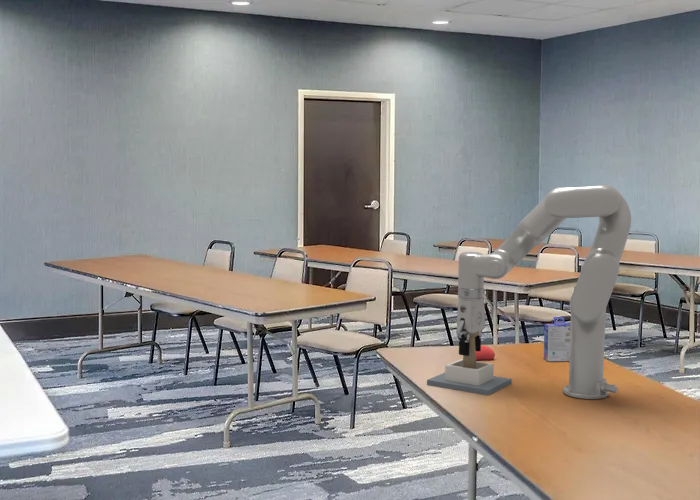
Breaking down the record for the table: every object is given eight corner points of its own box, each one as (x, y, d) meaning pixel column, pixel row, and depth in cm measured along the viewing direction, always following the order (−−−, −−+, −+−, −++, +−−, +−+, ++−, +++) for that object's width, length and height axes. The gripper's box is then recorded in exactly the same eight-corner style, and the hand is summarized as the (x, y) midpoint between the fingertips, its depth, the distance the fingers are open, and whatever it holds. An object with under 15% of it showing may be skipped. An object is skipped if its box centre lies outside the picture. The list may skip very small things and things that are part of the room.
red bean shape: (468, 361, 281) (463, 347, 279) (493, 352, 281) (488, 337, 278) (472, 369, 277) (467, 355, 274) (497, 360, 276) (492, 345, 274)
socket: (511, 383, 246) (511, 364, 245) (488, 395, 233) (488, 374, 232) (452, 374, 257) (452, 355, 257) (426, 384, 244) (427, 365, 244)
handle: (470, 376, 249) (470, 327, 247) (482, 380, 243) (482, 330, 242) (457, 377, 247) (456, 328, 246) (468, 382, 241) (468, 332, 240)
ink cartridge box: (570, 357, 281) (571, 316, 279) (576, 361, 275) (577, 319, 274) (542, 358, 280) (543, 316, 278) (547, 362, 274) (548, 319, 273)
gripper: (468, 298, 233) (467, 360, 235) (495, 291, 247) (493, 349, 249) (445, 296, 237) (444, 356, 239) (472, 289, 252) (471, 346, 253)
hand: (469, 352), depth 244 cm, fingers open, 6 cm apart
